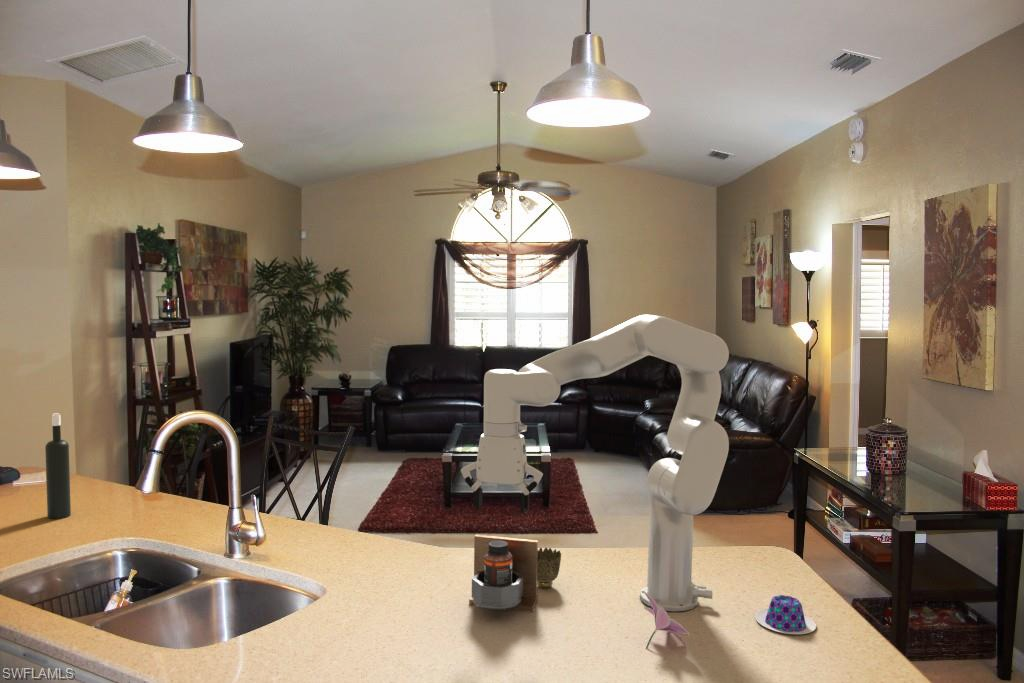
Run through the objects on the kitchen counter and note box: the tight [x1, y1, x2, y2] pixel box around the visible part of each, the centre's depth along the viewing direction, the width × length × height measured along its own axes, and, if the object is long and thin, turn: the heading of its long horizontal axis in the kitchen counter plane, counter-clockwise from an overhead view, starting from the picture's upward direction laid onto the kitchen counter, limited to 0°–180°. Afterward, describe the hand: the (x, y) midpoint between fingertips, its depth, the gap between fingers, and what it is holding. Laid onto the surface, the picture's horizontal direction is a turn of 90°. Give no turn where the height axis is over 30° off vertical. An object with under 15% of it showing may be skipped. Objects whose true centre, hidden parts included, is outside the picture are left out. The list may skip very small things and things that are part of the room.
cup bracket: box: [468, 534, 539, 613], centre depth 160 cm, size 14×14×14 cm
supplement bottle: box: [484, 541, 512, 586], centre depth 158 cm, size 6×6×11 cm
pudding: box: [754, 594, 817, 635], centre depth 157 cm, size 12×12×5 cm
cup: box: [537, 547, 562, 590], centre depth 173 cm, size 8×7×8 cm
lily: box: [643, 591, 691, 649], centre depth 146 cm, size 12×12×10 cm
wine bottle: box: [44, 412, 72, 520], centre depth 217 cm, size 6×6×30 cm
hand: (501, 510), depth 157 cm, fingers open, 9 cm apart
